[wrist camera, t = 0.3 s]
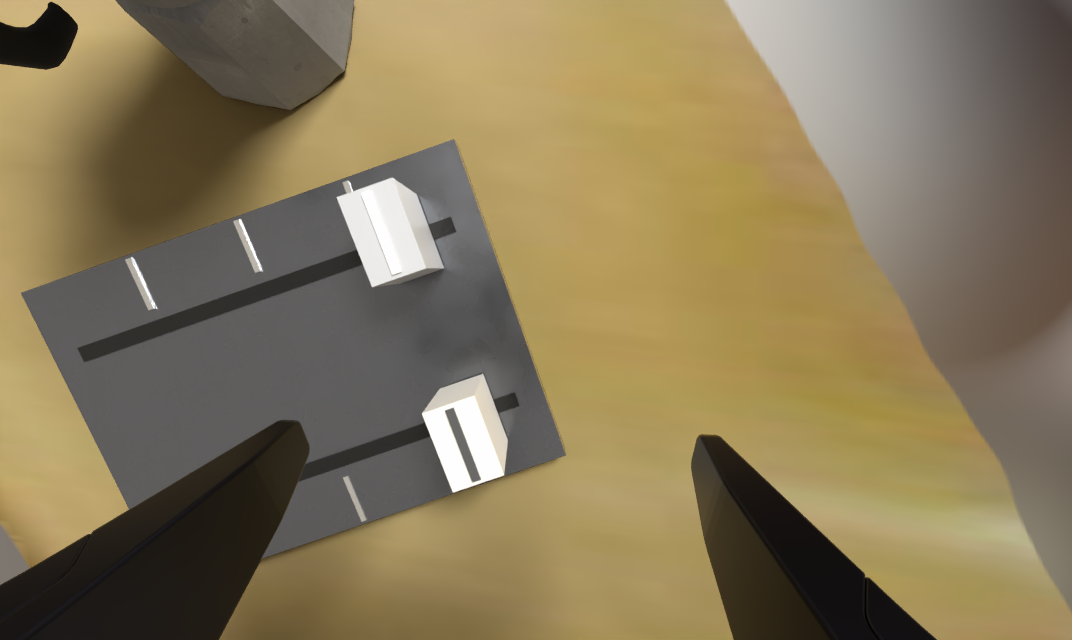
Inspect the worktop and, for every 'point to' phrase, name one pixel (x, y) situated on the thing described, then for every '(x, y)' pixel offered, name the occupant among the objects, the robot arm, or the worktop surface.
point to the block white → (390, 233)
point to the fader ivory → (467, 433)
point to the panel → (299, 350)
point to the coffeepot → (219, 43)
